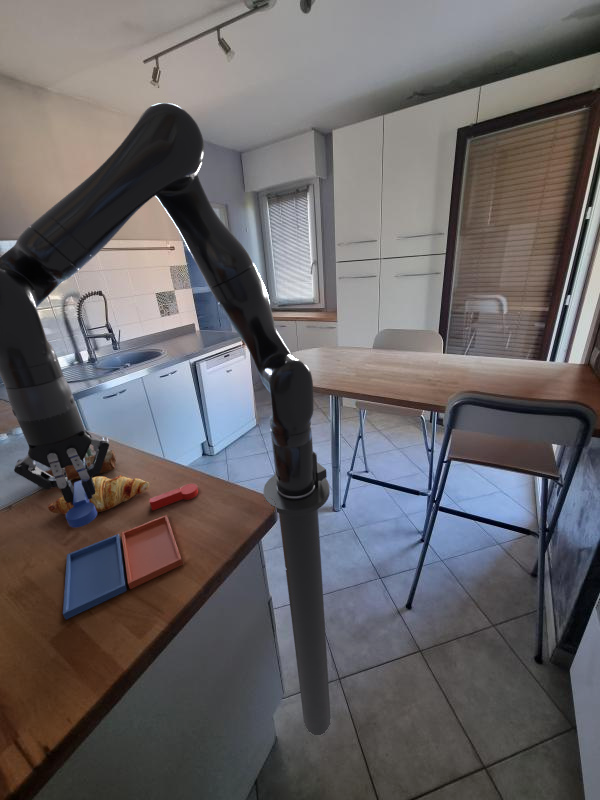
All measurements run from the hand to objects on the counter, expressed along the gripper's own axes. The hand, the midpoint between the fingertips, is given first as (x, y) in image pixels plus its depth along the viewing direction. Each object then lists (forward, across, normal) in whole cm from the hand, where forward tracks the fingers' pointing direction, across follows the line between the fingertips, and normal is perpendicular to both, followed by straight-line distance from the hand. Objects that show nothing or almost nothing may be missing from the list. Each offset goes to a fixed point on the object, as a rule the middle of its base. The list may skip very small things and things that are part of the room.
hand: (82, 498), depth 58 cm
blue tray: (+15, +2, +2) cm, 15 cm away
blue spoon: (0, 0, +2) cm, 2 cm away
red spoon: (+15, -15, -11) cm, 24 cm away
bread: (+15, +5, -36) cm, 39 cm away
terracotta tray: (+15, -8, +2) cm, 17 cm away
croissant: (+15, 0, -20) cm, 25 cm away
